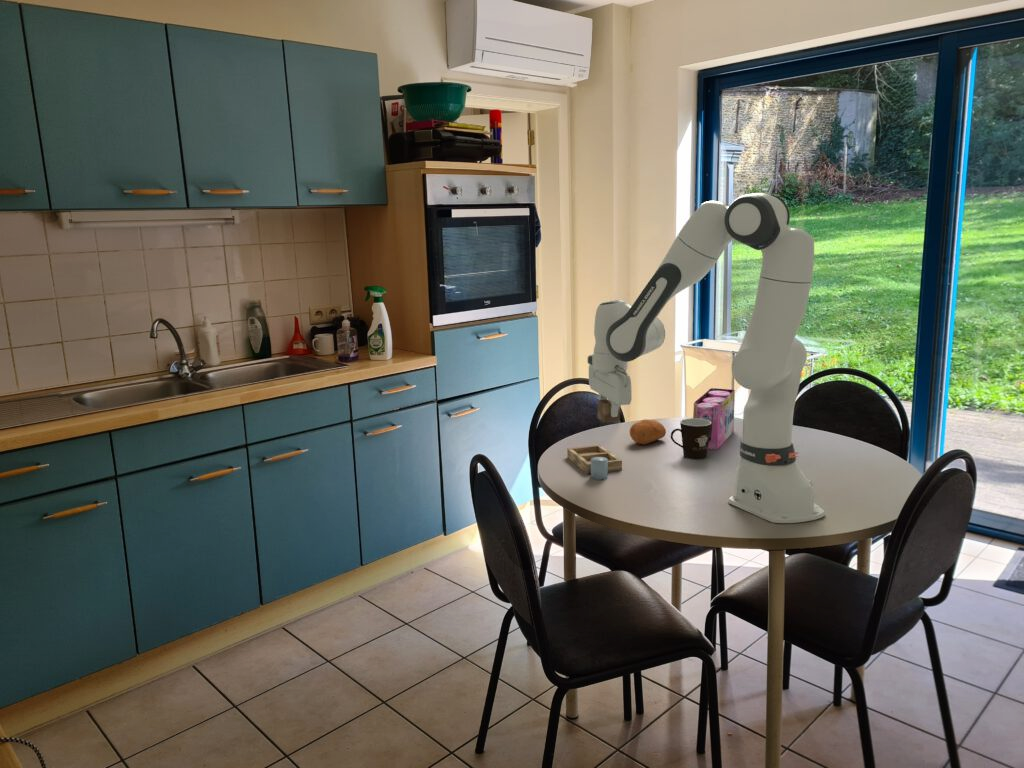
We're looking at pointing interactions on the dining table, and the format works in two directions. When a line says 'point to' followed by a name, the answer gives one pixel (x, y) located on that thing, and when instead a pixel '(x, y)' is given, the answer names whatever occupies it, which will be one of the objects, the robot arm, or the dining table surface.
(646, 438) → the potato
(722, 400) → the gum box
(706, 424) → the coffee mug
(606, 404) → the walnut block
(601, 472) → the grey capsule
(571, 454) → the wooden tray
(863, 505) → the dining table surface
